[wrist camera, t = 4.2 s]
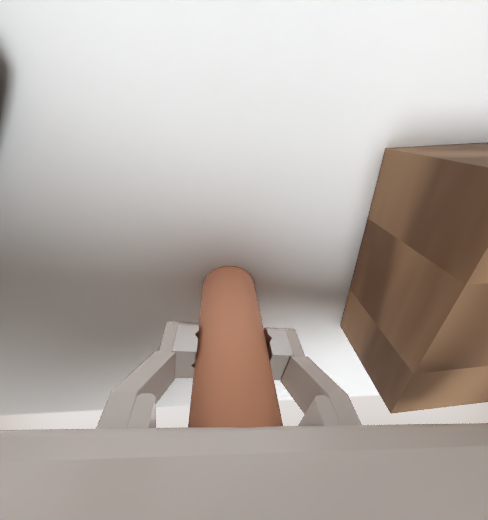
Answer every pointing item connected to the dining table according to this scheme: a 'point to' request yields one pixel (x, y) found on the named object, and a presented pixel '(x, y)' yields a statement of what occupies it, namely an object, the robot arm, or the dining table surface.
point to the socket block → (424, 279)
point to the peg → (232, 357)
